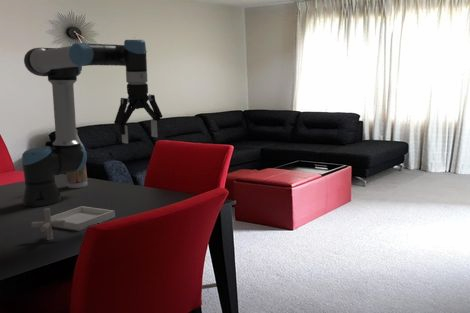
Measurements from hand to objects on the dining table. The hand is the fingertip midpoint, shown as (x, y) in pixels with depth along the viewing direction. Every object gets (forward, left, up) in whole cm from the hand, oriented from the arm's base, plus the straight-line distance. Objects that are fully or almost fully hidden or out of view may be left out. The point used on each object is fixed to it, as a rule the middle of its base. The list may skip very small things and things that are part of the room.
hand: (140, 139), depth 170 cm
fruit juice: (-61, +20, -28) cm, 70 cm away
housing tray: (-13, -21, -27) cm, 37 cm away
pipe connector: (-7, -39, -28) cm, 48 cm away
